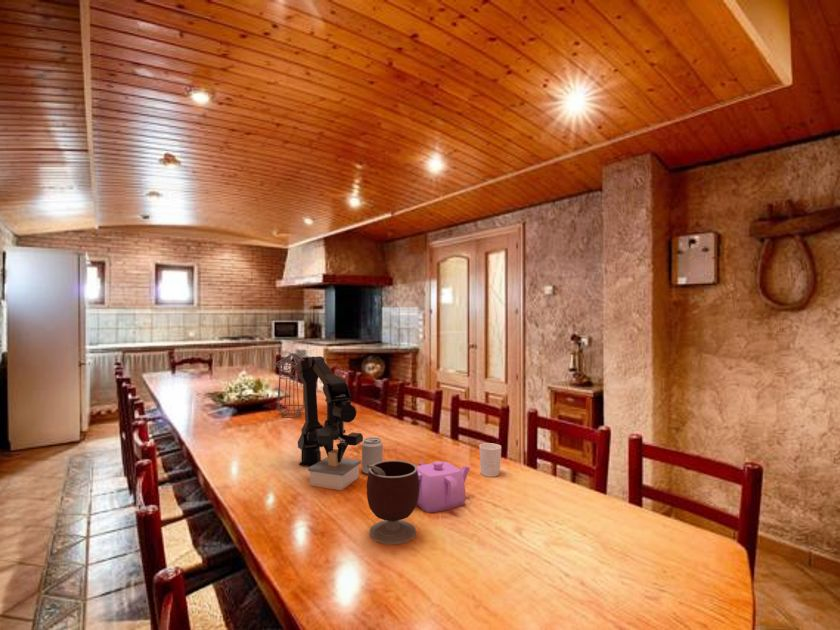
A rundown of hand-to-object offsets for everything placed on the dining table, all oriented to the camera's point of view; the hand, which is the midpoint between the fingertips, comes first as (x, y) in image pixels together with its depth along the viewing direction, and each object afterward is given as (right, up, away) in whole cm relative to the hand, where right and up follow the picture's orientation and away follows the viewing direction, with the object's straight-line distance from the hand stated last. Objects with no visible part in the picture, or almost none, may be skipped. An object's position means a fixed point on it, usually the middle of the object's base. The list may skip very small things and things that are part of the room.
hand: (335, 461), depth 154 cm
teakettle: (+35, -8, -15) cm, 39 cm away
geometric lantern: (-42, -6, +96) cm, 105 cm away
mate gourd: (+21, -7, -36) cm, 42 cm away
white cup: (+55, -7, +9) cm, 56 cm away
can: (+12, -7, +10) cm, 17 cm away
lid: (0, -2, 0) cm, 2 cm away
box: (0, -7, 0) cm, 7 cm away
